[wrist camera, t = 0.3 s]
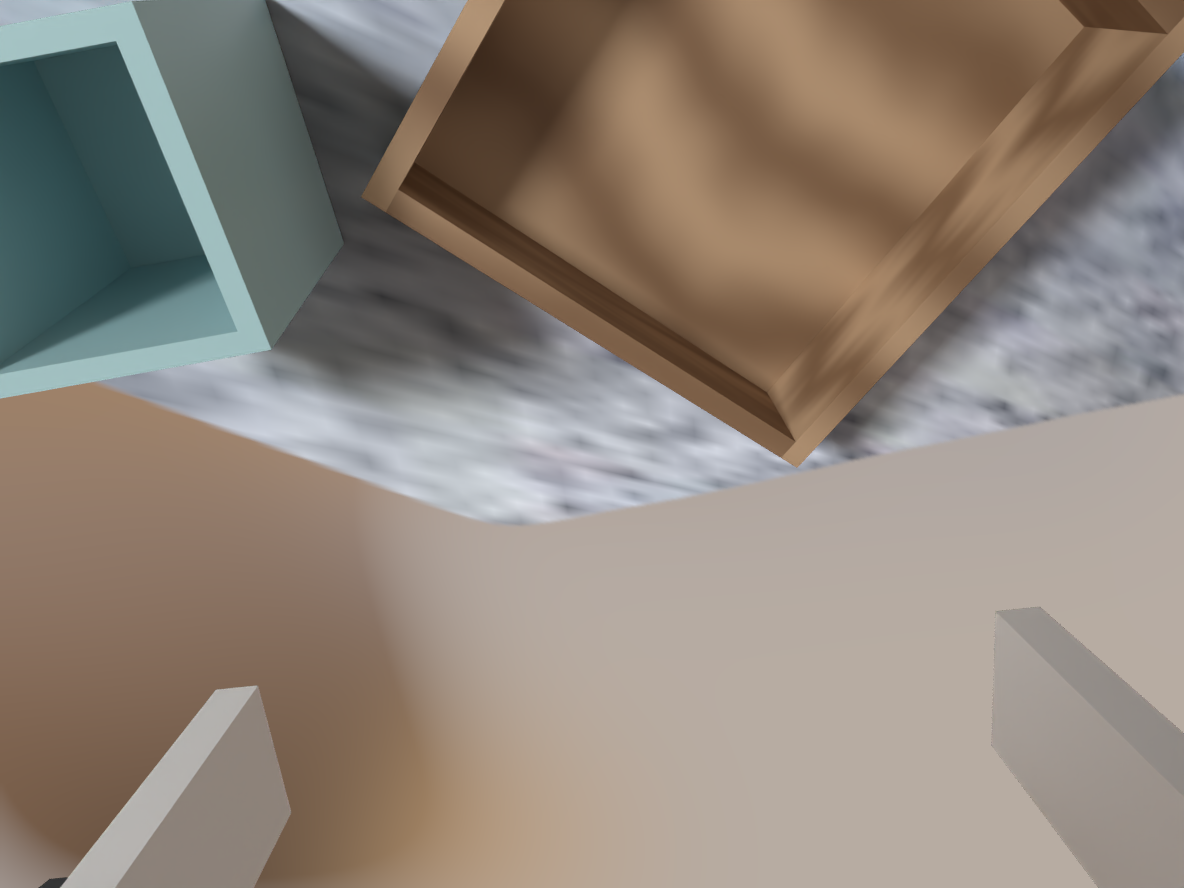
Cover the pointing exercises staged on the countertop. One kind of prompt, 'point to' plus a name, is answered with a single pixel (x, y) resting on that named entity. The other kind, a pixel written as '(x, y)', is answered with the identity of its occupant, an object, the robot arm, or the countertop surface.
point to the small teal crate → (151, 192)
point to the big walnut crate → (759, 172)
